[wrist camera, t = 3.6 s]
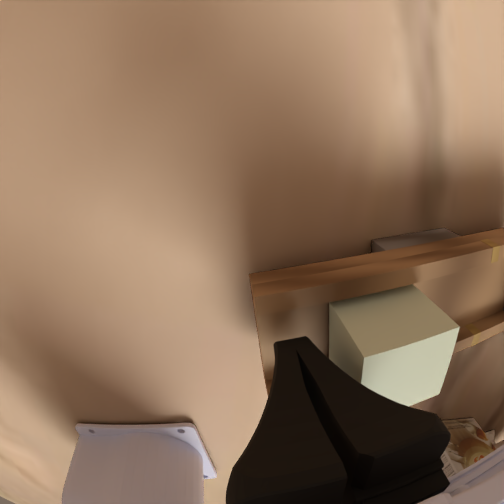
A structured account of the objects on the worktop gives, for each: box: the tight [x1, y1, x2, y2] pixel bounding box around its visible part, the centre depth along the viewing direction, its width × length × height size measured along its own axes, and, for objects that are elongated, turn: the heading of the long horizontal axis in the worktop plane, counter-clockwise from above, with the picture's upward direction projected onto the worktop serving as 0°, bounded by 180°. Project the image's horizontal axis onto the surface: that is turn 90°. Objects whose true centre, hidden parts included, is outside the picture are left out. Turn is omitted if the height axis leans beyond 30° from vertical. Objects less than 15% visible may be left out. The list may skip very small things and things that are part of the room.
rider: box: [329, 284, 460, 406], centre depth 12 cm, size 4×4×4 cm
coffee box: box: [441, 418, 496, 478], centre depth 17 cm, size 9×6×16 cm
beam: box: [249, 228, 504, 396], centre depth 14 cm, size 18×6×5 cm, turn 97°
